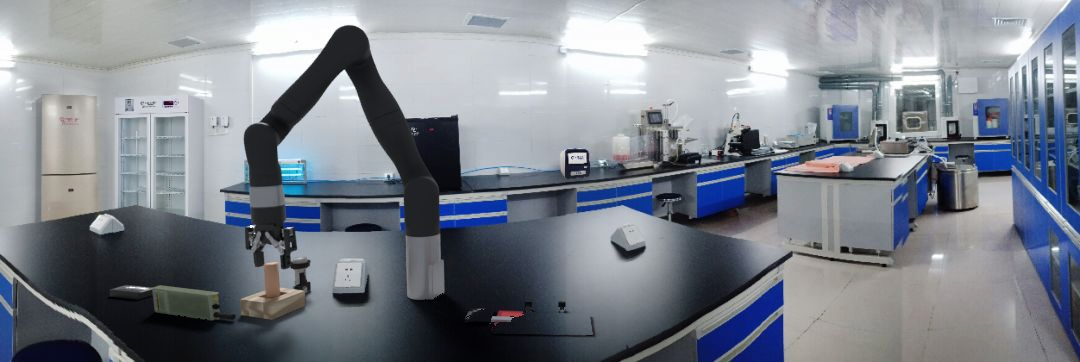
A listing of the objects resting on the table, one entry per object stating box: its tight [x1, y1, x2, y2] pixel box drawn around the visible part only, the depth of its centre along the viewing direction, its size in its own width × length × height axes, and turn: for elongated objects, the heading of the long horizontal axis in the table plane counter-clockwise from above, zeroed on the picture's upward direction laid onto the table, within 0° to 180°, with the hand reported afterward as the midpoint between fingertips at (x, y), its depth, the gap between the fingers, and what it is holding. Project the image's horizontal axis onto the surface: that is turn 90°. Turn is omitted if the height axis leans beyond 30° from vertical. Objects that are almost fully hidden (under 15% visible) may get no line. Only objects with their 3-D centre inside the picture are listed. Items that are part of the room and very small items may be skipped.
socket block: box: [239, 287, 306, 320], centre depth 117 cm, size 10×10×4 cm
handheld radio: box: [152, 285, 236, 321], centre depth 113 cm, size 7×3×25 cm
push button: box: [289, 256, 312, 294], centre depth 129 cm, size 7×5×10 cm
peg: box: [263, 261, 281, 299], centre depth 116 cm, size 3×3×12 cm
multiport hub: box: [109, 284, 154, 300], centre depth 129 cm, size 4×11×2 cm, turn 76°
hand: (272, 267), depth 116 cm, fingers open, 8 cm apart
